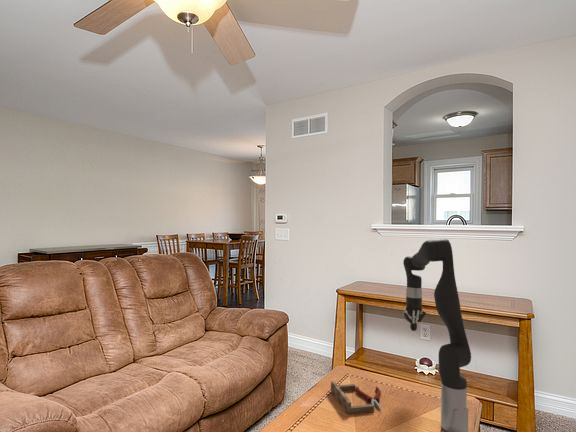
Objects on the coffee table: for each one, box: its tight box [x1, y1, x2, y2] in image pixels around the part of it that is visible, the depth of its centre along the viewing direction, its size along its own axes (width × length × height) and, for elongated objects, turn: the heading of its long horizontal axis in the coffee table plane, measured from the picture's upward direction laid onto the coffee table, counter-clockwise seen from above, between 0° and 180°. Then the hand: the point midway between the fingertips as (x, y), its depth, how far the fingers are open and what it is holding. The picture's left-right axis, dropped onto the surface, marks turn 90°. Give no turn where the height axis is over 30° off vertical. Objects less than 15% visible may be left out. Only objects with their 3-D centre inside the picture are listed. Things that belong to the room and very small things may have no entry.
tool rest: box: [330, 380, 375, 415], centre depth 161 cm, size 21×12×5 cm, turn 13°
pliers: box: [355, 386, 382, 412], centre depth 163 cm, size 12×20×3 cm, turn 1°
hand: (413, 330), depth 180 cm, fingers closed
